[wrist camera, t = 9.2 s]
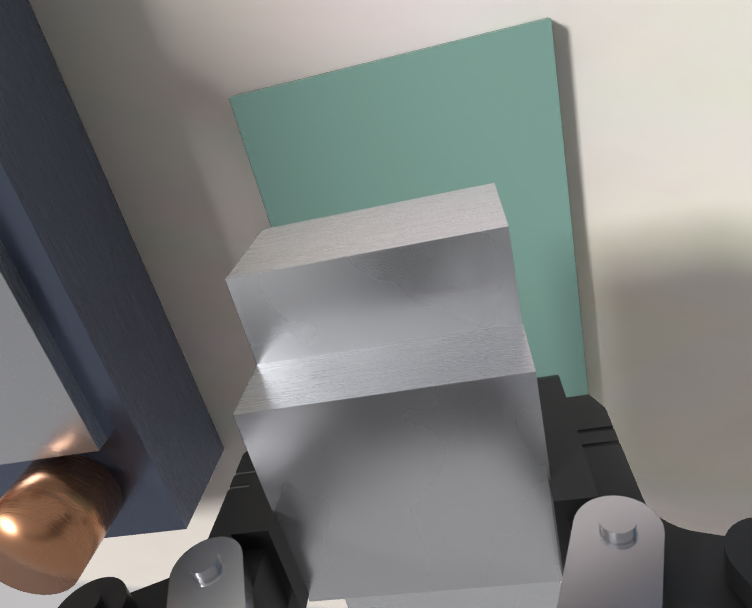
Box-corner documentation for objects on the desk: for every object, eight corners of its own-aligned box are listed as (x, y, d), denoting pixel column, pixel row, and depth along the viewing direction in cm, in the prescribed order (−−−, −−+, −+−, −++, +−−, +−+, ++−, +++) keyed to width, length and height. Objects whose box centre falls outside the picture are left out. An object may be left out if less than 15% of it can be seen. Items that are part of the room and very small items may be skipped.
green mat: (234, 95, 20) (229, 98, 19) (547, 17, 18) (551, 18, 17) (343, 432, 26) (341, 442, 25) (586, 399, 24) (590, 409, 23)
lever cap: (262, 229, 12) (193, 321, 9) (494, 182, 12) (521, 263, 8) (381, 587, 17) (367, 741, 14) (553, 572, 16) (586, 733, 13)
